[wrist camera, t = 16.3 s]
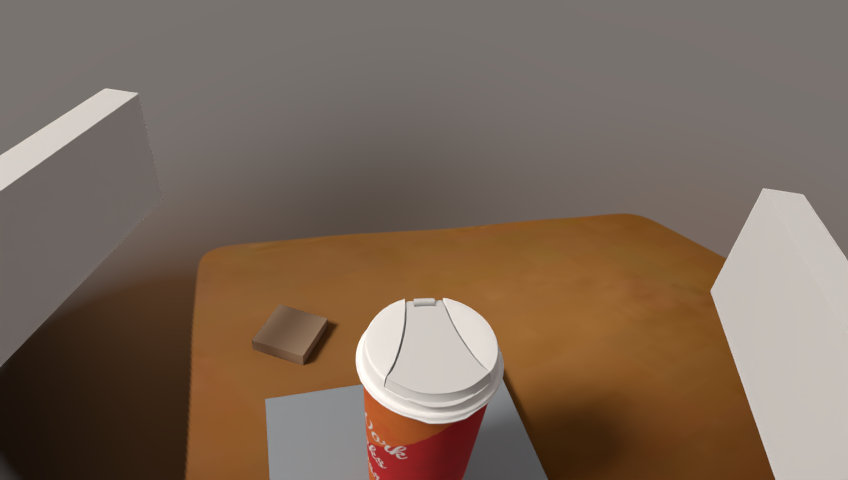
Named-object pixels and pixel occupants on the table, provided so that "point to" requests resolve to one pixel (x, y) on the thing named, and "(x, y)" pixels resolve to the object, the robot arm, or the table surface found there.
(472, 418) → the paper cup
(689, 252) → the table surface
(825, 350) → the robot arm
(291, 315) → the block
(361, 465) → the slate board
